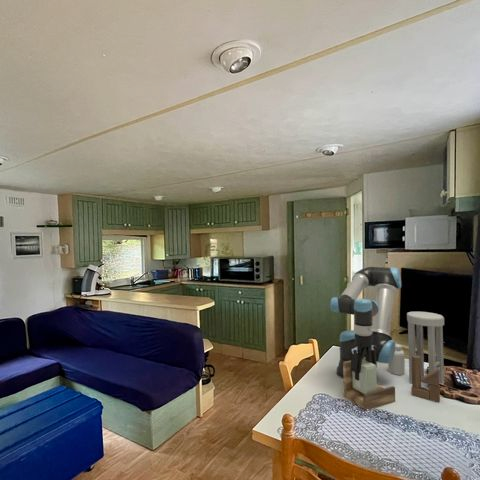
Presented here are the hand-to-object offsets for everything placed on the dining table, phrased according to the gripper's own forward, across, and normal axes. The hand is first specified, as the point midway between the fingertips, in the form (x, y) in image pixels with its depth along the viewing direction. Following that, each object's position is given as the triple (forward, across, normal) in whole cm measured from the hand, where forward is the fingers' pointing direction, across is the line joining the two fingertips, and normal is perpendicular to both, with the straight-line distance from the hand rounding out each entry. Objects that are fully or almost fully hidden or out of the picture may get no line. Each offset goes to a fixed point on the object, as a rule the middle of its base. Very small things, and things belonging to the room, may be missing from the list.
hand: (364, 385), depth 130 cm
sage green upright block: (+2, 0, 0) cm, 2 cm away
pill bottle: (+7, +40, +15) cm, 43 cm away
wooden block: (+7, +28, -9) cm, 30 cm away
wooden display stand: (+7, +3, 0) cm, 7 cm away
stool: (+7, +41, -1) cm, 42 cm away
